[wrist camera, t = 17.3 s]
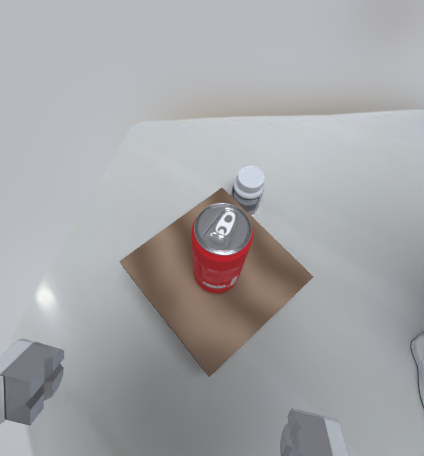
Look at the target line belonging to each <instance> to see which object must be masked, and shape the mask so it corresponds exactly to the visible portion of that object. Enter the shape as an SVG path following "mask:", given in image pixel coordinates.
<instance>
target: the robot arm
mask: <svg viewBox="0 0 424 456" xmlns="http://www.w3.org/2000/svg"><path fill="white" fill-rule="evenodd" d="M411 348H412V352H413V355H414V358H415V360H416V363H417V365H418V371H419V389H420V394H421V399H422V402H423V405H424V333H422V334H421V335H420V336H418V337H417V338H416V339H414V340H413V341H412V343H411ZM63 359H64V351H63V350H62V349H59V348H55V347H52V346H48V345H45V344H41V343H38V342H33V341H30V340H27V339H20V340H18V341H17V342H16V343H14V344H13V345H12V346H11V347H10V348H9V349H8V350H7V351H6V352H4V353H3V354H2V355H1V356H0V424H1V423H3V422H4V421H5V420H10V421H14V422H18V423H22V424H26V425H31V424H32V422H33V421H34V420H35V419H36V417H37V416H38V415H39V413H40V412H41V411H42V409H43V408H44V401H45V400H47V399H49V398H50V397H52V396H53V395H54V393H55V392H56V390H57V389H58V387H59V385H60V383H61V380H62V376H63V367H62V365H61V364H60V362H61V361H62V360H63ZM288 422H289V424H287V425H285V426H284V429H283V432H282V436H281V443H280V452H281V456H349V455H348V451H347V448H346V444H345V441H344V438H343V434H342V431H341V427H340V424H339V422H338V420H337V419H333V418H329V417H325V416H320V415H317V414H313V413H309V412H305V411H301V410H297V409H293V408H292V409H291V410H290V412H289V415H288Z"/></svg>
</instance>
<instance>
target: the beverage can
mask: <svg viewBox="0 0 424 456" xmlns="http://www.w3.org/2000/svg"><path fill="white" fill-rule="evenodd" d="M191 238H192V256H193V273H194V277H195V280H196V282H197V283H198V284H199V286H200V287H201V288H203V289H204V290H206V291H208V292H212V293H222V292H225V291H228V290H229V289H231V288H232V287H233V286H234V285H235V284H236V282H237V280H238V278H239V275H240V273H241V270H242V267H243V265H244V262H245V260H246V257H247V254H248V252H249V249H250V246H251V244H252V240H253V229H252V225H251V222H250V220H249V218H248V216H247V215H246V214H245V212H244V211H242V210H241V209H240V208H238V207H237V206H234V205H232V204H228V203H217V204H212V205H209V206H207V207H206V208H204V209H203V210H202V211H201V212H200V213H199V214H198V216H197V217H196V219H195V220H194V222H193V225H192V229H191Z"/></svg>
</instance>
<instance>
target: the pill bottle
mask: <svg viewBox="0 0 424 456" xmlns="http://www.w3.org/2000/svg"><path fill="white" fill-rule="evenodd" d="M264 180H265V175H264V173H263V171H262V170H261V169H259V168H258V167H256V166H245V167H243V168H242V169H240V171H239V172H238V176H237V177H236V178H235V180H234V184H233V189H232V195H231V197H232V198H233V199H234V200H235V201H236V202H237V203H238V204H239V205H240V206H241V207H242V208H243V209H244V210H245V211H246V212H248V213H249V214H250V215H252V214H253V213H254V212H255V211H256V210H257V208H258V205H259V202H260V199H261V196H262V193H263V191H264Z"/></svg>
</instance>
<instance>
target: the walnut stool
mask: <svg viewBox="0 0 424 456" xmlns="http://www.w3.org/2000/svg"><path fill="white" fill-rule="evenodd" d="M217 203H228V204H232V205H234V206H237V207H238V208H240V209H241V210H242V211H244V212H245V214H246V215H247V216H248V218H249V220H250V222H251V225H252V229H253V240H252V244H251V246H250V249H249V252H248V254H247V257H246V260H245V262H244V265H243V267H242V270H241V273H240V275H239V278H238V280H237V282H236V284H235V285H234V286H233V287H232V288H231V289H229V290H228V291H225V292H222V293H212V292H208V291H206V290H204V289H203V288H201V287H200V286H199V284H198V283H197V282H196V280H195V277H194V273H193V256H192V238H191V229H192V225H193V222H194V220H195V219H196V217H197V216H198V214H199V213H200V212H201V211H202V210H203V209H204V208H206V207H207V206H209V205H212V204H217ZM120 263H121V265H122V266H123V268H124V269H125V270H126V271H127V273H128V274H129V275H130V276H131V278H132V279H133V280H134V282H135V283H136V284H137V285H138V287H139V288H140V289H141V291H142V292H143V293H144V294H145V296H146V297H147V298H148V300H149V301H150V302H151V303H152V305H153V306H154V307H155V308H156V310H157V311H158V312H159V314H160V315H161V316H162V317H163V319H164V320H165V321H166V323H167V324H168V325H169V326H170V328H171V329H172V330H173V332H174V333H175V334H176V335H177V337H178V338H179V339H180V340H181V342H182V343H183V344H184V346H185V347H186V348H187V349H188V351H189V352H190V353H191V355H192V356H193V357H194V358H195V360H196V361H197V362H198V364H199V365H200V366H201V367H202V369H203V370H204V371H205V372H206V374H207V375H208V376H209V377H210V376H211V375H212V374H213V373H214V372H215V371H216V370H217V369H218V368H219V367H220V366H221V365H222V364H223V363H224V362H225V361H226V360H227V359H228V358H230V357H231V356H232V355H233V354H234V353H235V352H236V351H237V350H238V349H239V348H240V347H241V346H242V345H243V344H244V343H245V342H246V341H247V340H248V339H249V338H250V337H251V336H252V335H253V334H254V333H256V332H257V331H258V330H259V329H260V328H261V327H262V326H263V325H264V324H265V323H266V322H267V321H268V320H269V319H270V318H271V317H272V316H273V315H274V314H275V313H276V312H277V311H278V310H279V309H281V308H282V307H283V306H284V305H285V304H286V303H287V302H288V301H289V300H290V299H291V298H292V297H293V296H294V295H295V294H296V293H297V292H298V291H299V290H300V289H301V288H302V287H303V286H304V285H305V284H307V283H308V282H309V281H310V280H311V279H312V278H313V276H312V275H311V274H310V273H309V272H308V271H307V270H306V269H305V268H304V267H303V266H302V265H301V264H300V263H299V262H298V261H297V260H296V259H295V258H294V257H293V256H292V255H291V254H290V253H289V252H287V251H286V250H285V249H284V248H283V247H282V246H281V245H280V244H279V243H278V242H277V241H276V240H275V239H274V238H273V237H272V236H271V235H270V234H269V233H268V232H267V231H266V230H265V229H264V228H263V227H262V226H261V225H260V224H259V223H258V222H257V221H256V220H255V219H254V218H253V217H252V216H251V215H250V214H249V213H248V212H246V211H245V210H244V209H243V208H242V207H241V206H240V205H239V204H238V203H237V202H236V201H235V200H234V199H233V198H232V197H231V196H230V195H229V194H228V193H227V192H226V191H225V190H224V189H223V188H221V189H219V190H218V191H217V192H215V193H214V194H212V195H211V196H210V197H208V198H207V199H206V200H204V201H203V202H201V203H200V204H199V205H197V206H196V207H194V208H193V209H192V210H190V211H189V212H187V213H186V214H185V215H183V216H182V217H180V218H179V219H178V220H176V221H175V222H174V223H172V224H171V225H169V226H168V227H167V228H165V229H164V230H162V231H161V232H160V233H158V234H157V235H155V236H154V237H153V238H151V239H150V240H149V241H147V242H146V243H144V244H143V245H142V246H140V247H139V248H137V249H136V250H135V251H133V252H132V253H130V254H129V255H128V256H126V257H125V258H124V259H122V260H121V261H120Z"/></svg>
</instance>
